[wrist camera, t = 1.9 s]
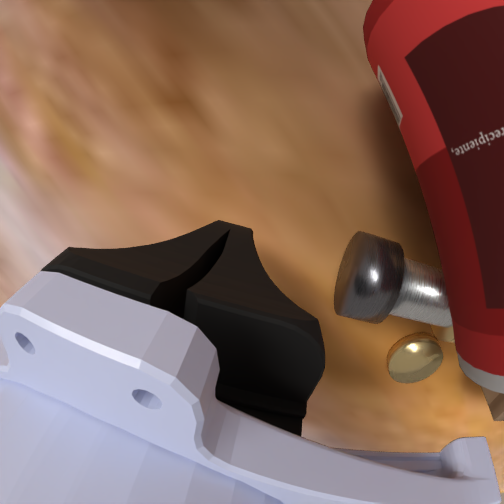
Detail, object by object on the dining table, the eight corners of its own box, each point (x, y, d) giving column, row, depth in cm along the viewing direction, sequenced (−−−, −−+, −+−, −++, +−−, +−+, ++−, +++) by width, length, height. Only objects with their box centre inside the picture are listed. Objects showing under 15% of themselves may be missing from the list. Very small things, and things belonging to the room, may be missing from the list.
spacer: (447, 334, 17) (453, 347, 16) (420, 372, 19) (424, 385, 18) (402, 325, 17) (406, 338, 16) (376, 365, 19) (379, 379, 18)
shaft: (330, 285, 15) (335, 336, 12) (358, 215, 13) (374, 254, 10) (510, 330, 14) (533, 370, 11) (539, 282, 13) (570, 318, 9)
